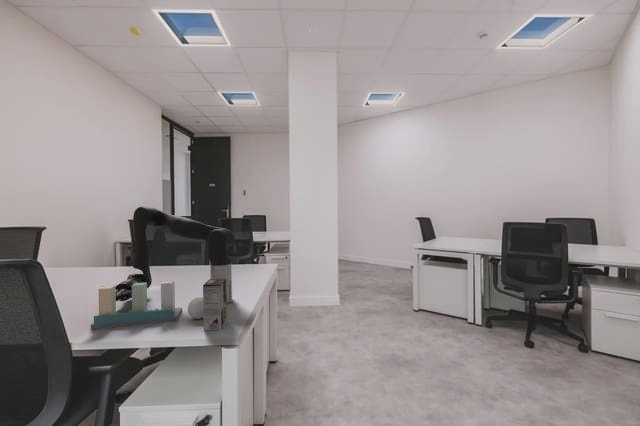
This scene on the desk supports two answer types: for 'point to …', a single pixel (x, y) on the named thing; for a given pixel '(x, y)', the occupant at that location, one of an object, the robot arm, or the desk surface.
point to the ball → (196, 308)
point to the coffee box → (215, 304)
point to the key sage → (139, 297)
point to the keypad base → (135, 318)
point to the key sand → (107, 300)
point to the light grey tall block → (167, 295)
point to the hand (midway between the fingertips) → (109, 301)
